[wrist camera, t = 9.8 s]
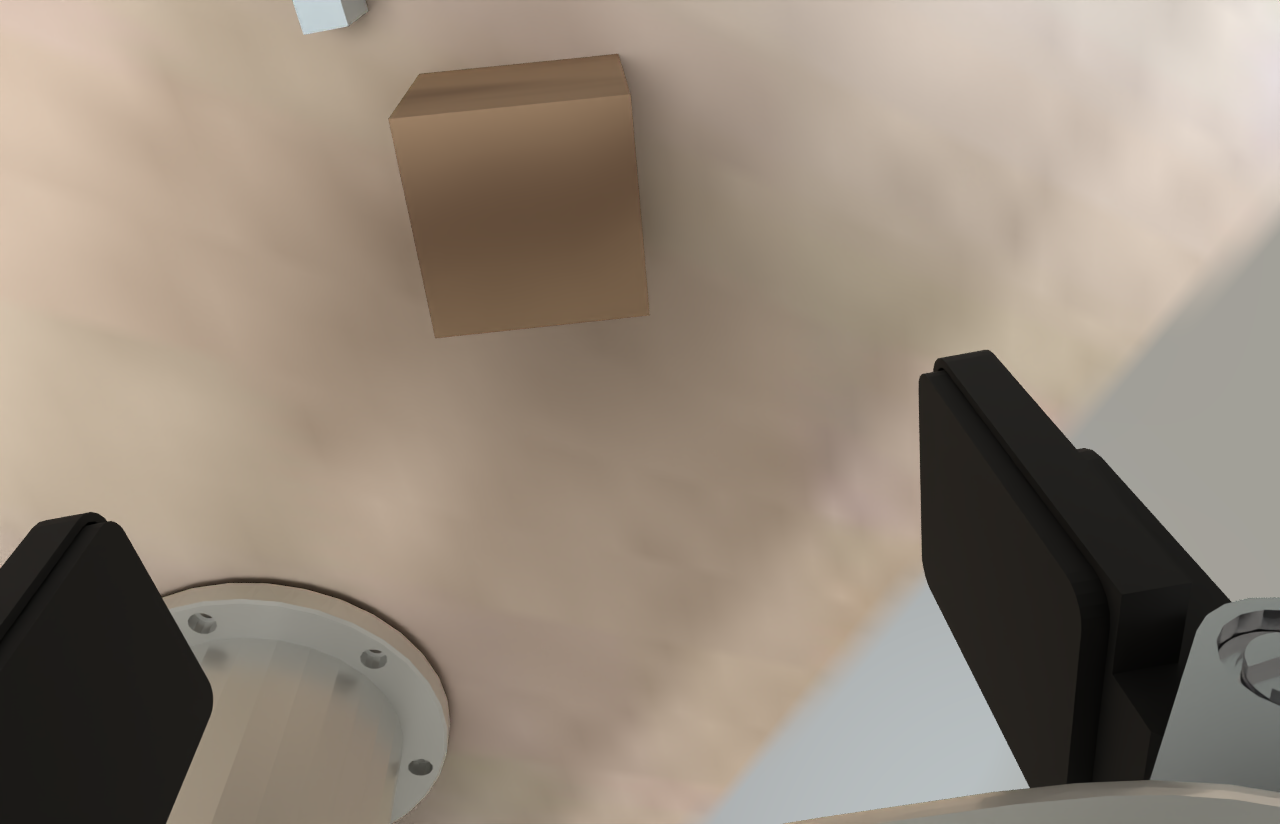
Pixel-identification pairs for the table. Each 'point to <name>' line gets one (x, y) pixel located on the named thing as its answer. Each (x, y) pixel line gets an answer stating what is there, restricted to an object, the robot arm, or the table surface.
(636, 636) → the table surface
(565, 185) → the walnut block
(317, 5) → the grey open frame
